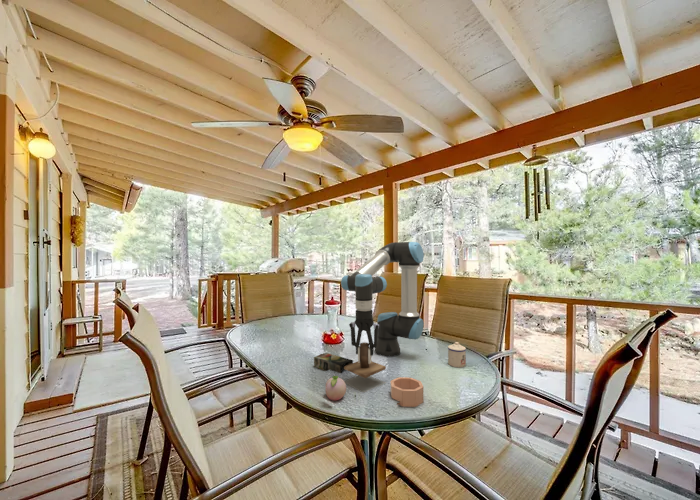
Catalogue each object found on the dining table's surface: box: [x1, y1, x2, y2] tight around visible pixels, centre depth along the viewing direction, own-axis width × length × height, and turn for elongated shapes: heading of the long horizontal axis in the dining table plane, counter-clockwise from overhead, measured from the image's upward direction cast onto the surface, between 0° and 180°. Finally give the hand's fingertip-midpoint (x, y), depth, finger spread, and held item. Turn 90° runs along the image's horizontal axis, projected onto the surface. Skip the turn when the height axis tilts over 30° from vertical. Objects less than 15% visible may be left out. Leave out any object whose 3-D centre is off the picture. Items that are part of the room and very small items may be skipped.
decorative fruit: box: [325, 375, 347, 401], centre depth 120 cm, size 9×8×10 cm
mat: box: [343, 375, 387, 393], centre depth 133 cm, size 14×14×2 cm
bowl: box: [390, 376, 424, 408], centre depth 121 cm, size 12×12×6 cm
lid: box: [343, 341, 387, 378], centre depth 134 cm, size 13×13×11 cm
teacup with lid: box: [447, 341, 467, 368], centre depth 160 cm, size 12×9×12 cm
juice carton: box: [313, 352, 354, 374], centre depth 153 cm, size 20×10×6 cm, turn 51°
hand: (364, 361), depth 134 cm, fingers closed on lid, 4 cm apart
